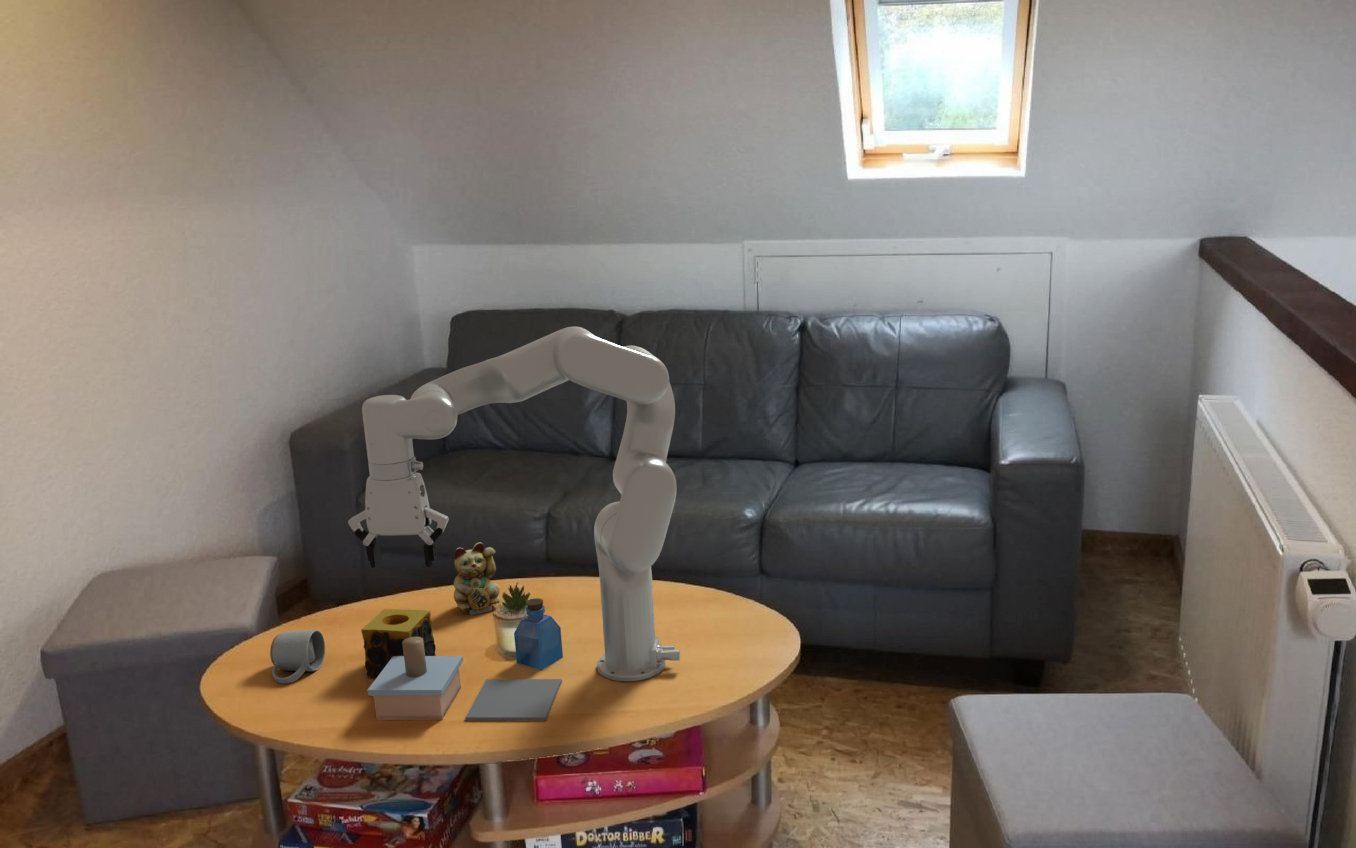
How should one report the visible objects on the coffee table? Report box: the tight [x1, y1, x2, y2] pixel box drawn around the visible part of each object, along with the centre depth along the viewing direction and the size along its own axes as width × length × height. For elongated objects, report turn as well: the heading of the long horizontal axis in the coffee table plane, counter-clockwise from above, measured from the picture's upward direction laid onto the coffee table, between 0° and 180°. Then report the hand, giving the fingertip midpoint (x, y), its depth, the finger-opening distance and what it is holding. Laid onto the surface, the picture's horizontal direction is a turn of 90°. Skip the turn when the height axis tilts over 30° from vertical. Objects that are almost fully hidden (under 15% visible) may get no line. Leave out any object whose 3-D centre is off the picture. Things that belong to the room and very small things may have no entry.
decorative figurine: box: [453, 542, 501, 616], centre depth 238 cm, size 10×8×15 cm
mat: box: [465, 678, 563, 722], centre depth 198 cm, size 14×14×1 cm
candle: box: [361, 608, 437, 680], centre depth 212 cm, size 10×10×10 cm
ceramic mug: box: [269, 629, 326, 685], centre depth 213 cm, size 11×8×8 cm
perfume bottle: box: [513, 597, 564, 671], centre depth 212 cm, size 6×6×12 cm
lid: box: [367, 637, 464, 696], centre depth 197 cm, size 13×13×7 cm
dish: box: [373, 668, 462, 721], centre depth 198 cm, size 12×12×5 cm
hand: (403, 564), depth 193 cm, fingers open, 9 cm apart
